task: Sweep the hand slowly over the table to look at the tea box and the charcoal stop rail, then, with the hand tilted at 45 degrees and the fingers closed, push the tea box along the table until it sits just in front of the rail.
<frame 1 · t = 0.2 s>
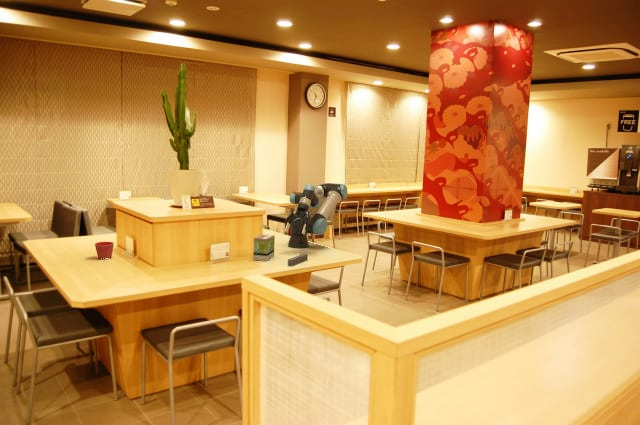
hand: (294, 233, 337), 16 cm above the table, tool tilted 35°, fingers open, 13 cm apart
tea box: (264, 258, 330), on the table
stop rail: (297, 262, 320), on the table
flower pot: (104, 258, 321), on the table
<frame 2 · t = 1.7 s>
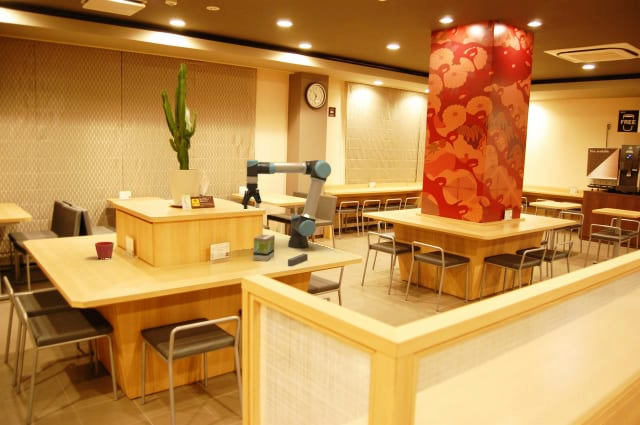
hand: (251, 214, 340), 27 cm above the table, tool pointing down, fingers open, 13 cm apart
nothing on the table moved.
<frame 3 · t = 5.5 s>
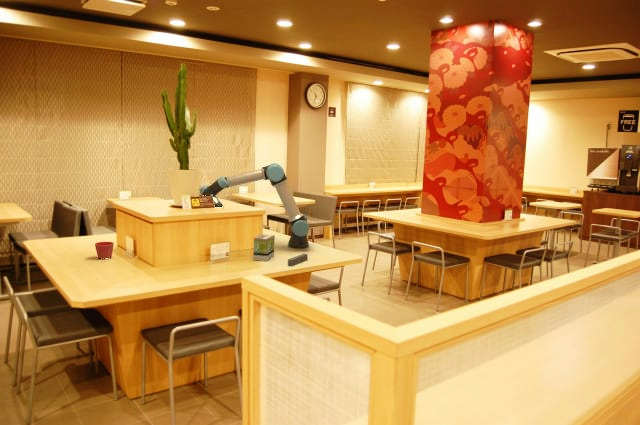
hand: (233, 229, 338), 17 cm above the table, tool tilted 45°, fingers open, 13 cm apart
nothing on the table moved.
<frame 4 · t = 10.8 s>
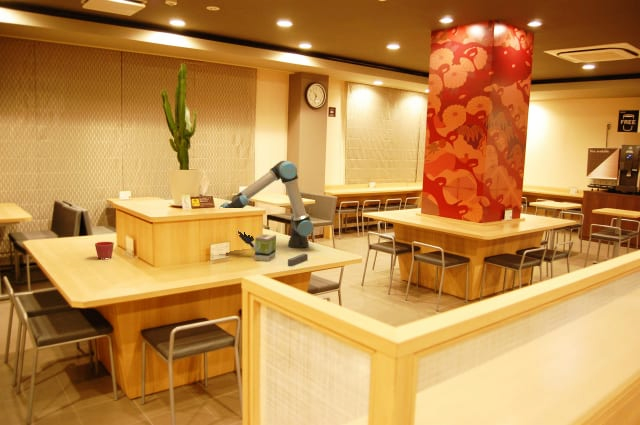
hand: (256, 250, 331), 5 cm above the table, tool tilted 45°, fingers closed
tea box: (265, 258, 330), on the table, touching gripper
everything else where it was.
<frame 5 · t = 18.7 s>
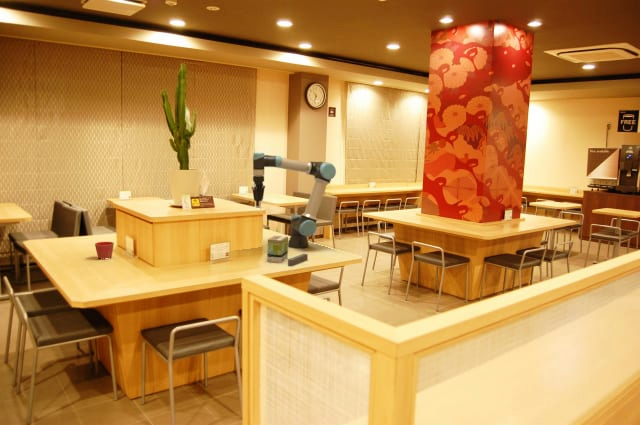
hand: (258, 210, 341), 29 cm above the table, tool pointing down, fingers closed
tea box: (277, 260, 327), on the table
everything else where it was.
at the end: tea box inside the target area on the table beside the stop rail (3.4 cm from its centre), on the table; tea box tilted 0°; the gripper is holding nothing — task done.
